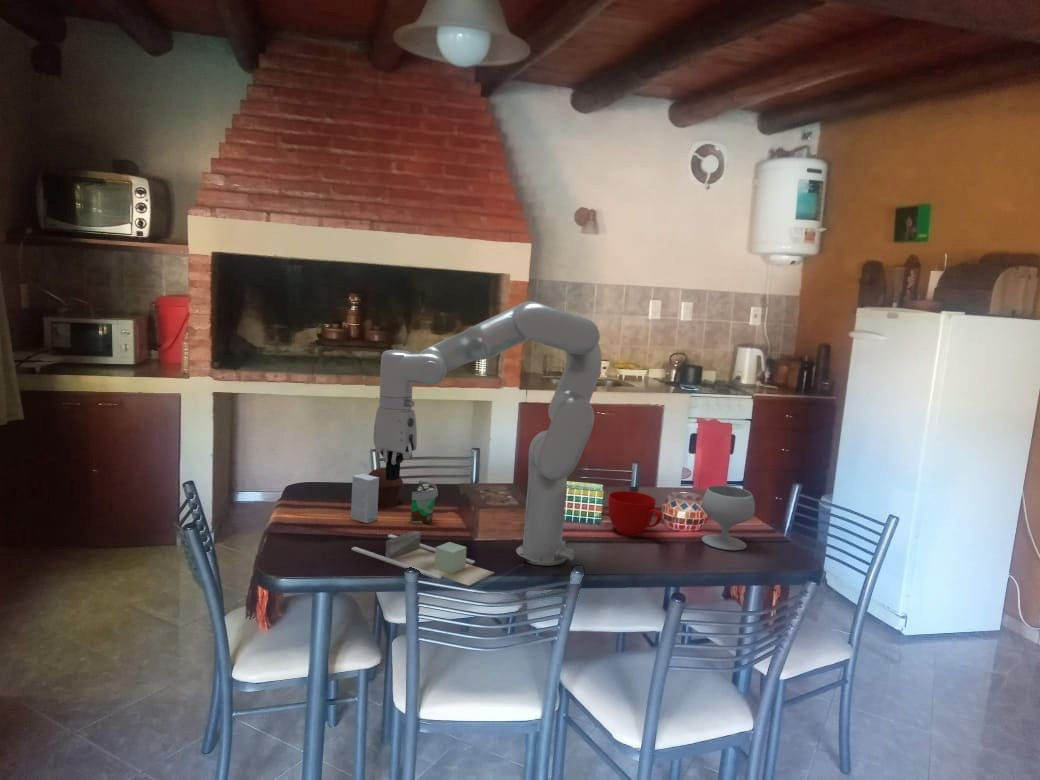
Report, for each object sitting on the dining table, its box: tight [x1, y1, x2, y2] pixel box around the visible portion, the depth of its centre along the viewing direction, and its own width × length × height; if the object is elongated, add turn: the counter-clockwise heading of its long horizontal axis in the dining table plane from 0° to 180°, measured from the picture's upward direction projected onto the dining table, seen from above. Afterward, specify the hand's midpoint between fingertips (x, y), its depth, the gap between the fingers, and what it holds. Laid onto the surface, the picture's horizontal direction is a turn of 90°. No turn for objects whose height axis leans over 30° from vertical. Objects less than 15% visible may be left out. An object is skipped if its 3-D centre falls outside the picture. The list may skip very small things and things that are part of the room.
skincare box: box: [350, 473, 379, 524], centre depth 206 cm, size 6×4×12 cm
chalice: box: [701, 484, 756, 551], centre depth 209 cm, size 14×14×15 cm
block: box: [434, 541, 468, 574], centre depth 173 cm, size 5×5×5 cm
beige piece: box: [384, 530, 495, 589], centre depth 175 cm, size 24×10×5 cm, turn 58°
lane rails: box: [351, 534, 476, 580], centre depth 180 cm, size 26×14×2 cm, turn 58°
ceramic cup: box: [607, 490, 662, 537], centre depth 212 cm, size 13×17×10 cm
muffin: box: [367, 467, 404, 508], centre depth 222 cm, size 12×11×10 cm
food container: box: [410, 480, 439, 526], centre depth 207 cm, size 12×6×10 cm, turn 179°
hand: (392, 479), depth 181 cm, fingers closed
